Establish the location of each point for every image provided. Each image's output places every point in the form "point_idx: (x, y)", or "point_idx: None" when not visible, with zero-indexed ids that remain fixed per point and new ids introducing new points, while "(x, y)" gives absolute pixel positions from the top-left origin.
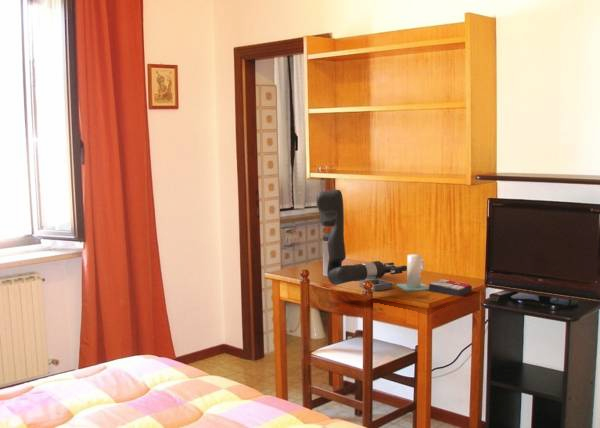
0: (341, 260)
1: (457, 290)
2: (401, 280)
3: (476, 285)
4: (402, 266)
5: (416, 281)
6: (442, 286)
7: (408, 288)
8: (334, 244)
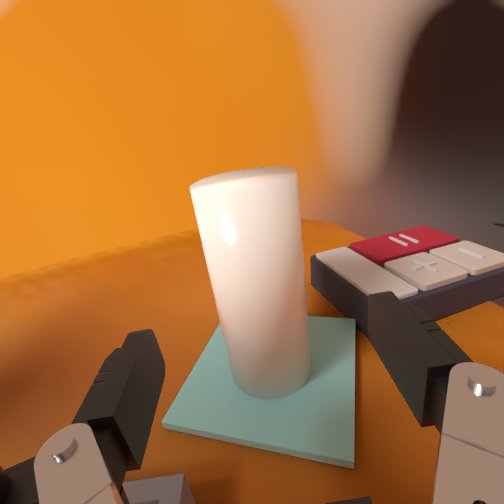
0: None
1: None
2: (111, 348)
3: (335, 227)
4: (427, 334)
5: (309, 337)
6: (442, 286)
7: (306, 416)
8: None
